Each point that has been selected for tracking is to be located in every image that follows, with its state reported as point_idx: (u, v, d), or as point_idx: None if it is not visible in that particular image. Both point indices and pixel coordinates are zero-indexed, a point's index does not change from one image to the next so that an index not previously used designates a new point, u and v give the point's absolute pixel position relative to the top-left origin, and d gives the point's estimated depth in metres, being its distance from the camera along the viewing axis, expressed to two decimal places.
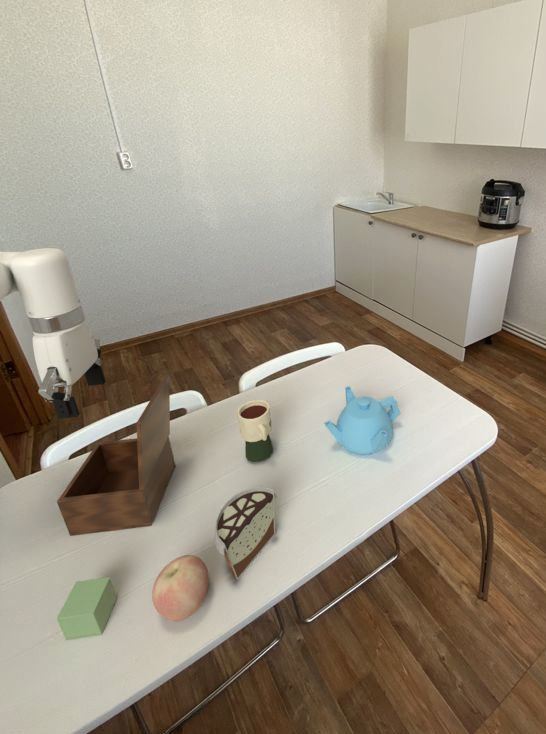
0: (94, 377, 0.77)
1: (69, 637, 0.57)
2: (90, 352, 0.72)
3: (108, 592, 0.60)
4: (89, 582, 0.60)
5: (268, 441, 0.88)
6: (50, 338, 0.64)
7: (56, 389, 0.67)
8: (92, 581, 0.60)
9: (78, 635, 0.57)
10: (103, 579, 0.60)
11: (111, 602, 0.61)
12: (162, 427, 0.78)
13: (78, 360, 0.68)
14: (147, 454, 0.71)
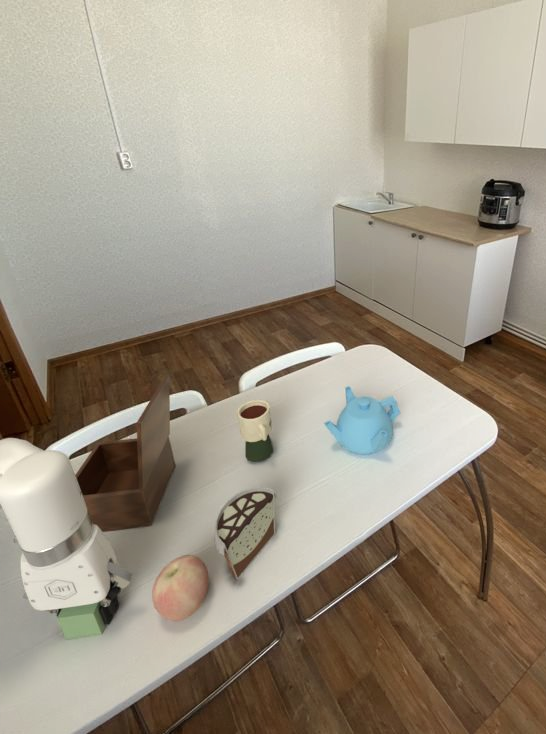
0: None
1: (69, 637, 0.57)
2: None
3: None
4: None
5: (268, 441, 0.88)
6: (96, 534, 0.55)
7: None
8: None
9: (78, 635, 0.57)
10: None
11: None
12: (162, 427, 0.78)
13: None
14: (147, 454, 0.71)
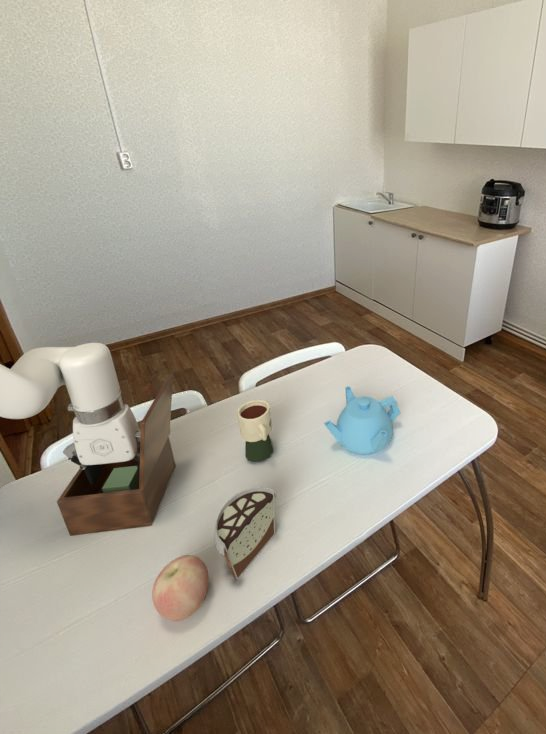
0: (96, 471, 0.77)
1: None
2: None
3: (138, 476, 0.80)
4: (124, 468, 0.80)
5: (268, 441, 0.88)
6: (127, 409, 0.73)
7: None
8: (126, 468, 0.80)
9: None
10: (134, 466, 0.80)
11: None
12: (163, 427, 0.78)
13: None
14: (149, 454, 0.71)
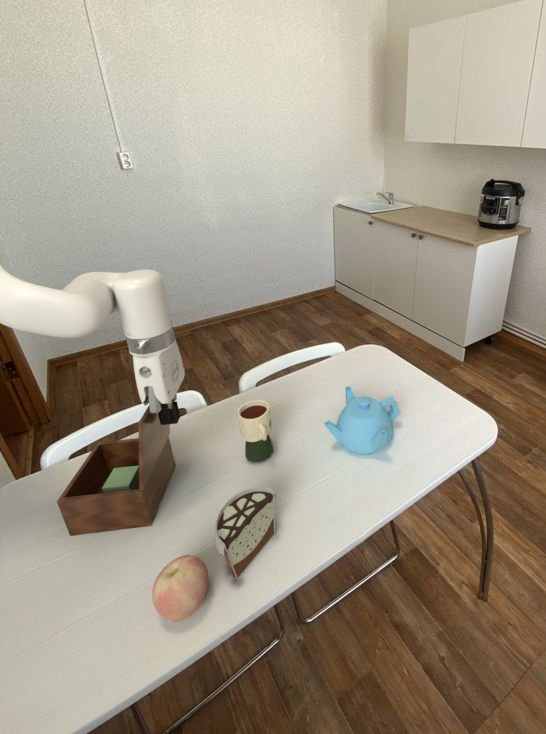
0: None
1: None
2: None
3: (138, 476, 0.80)
4: (124, 468, 0.80)
5: (268, 441, 0.88)
6: None
7: None
8: (126, 468, 0.80)
9: None
10: (134, 466, 0.80)
11: None
12: (163, 427, 0.78)
13: None
14: (148, 454, 0.71)
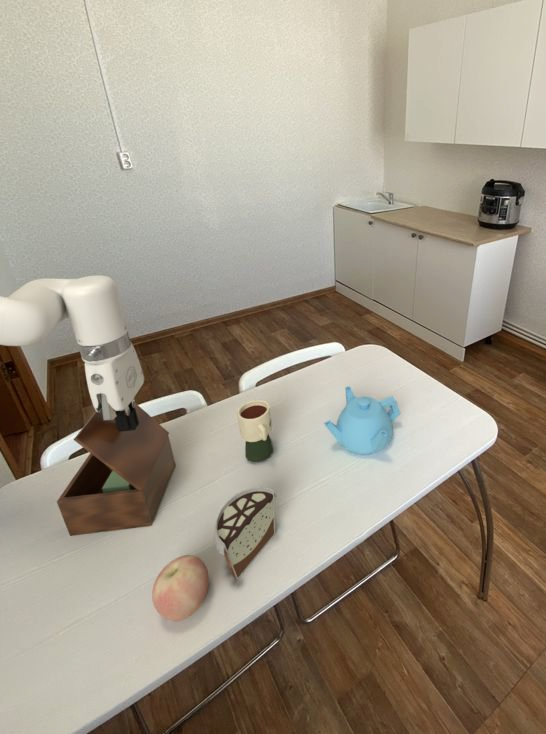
0: None
1: None
2: None
3: None
4: None
5: (268, 441, 0.88)
6: None
7: None
8: None
9: None
10: None
11: None
12: (142, 431, 0.78)
13: None
14: (123, 459, 0.71)
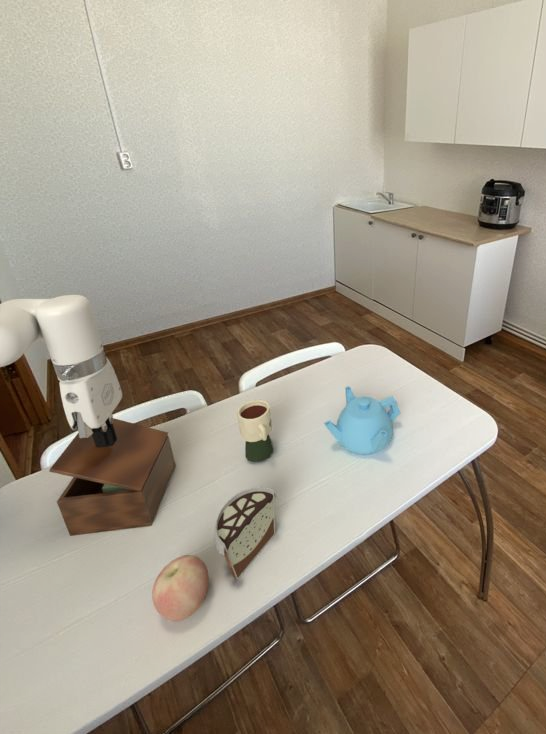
0: None
1: None
2: None
3: None
4: None
5: (268, 441, 0.88)
6: None
7: None
8: None
9: None
10: None
11: None
12: (133, 440, 0.78)
13: None
14: (112, 470, 0.71)
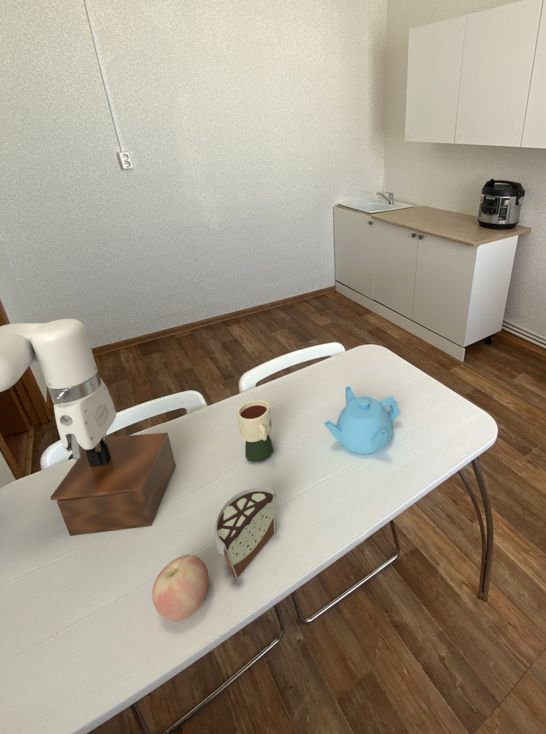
0: None
1: None
2: None
3: None
4: None
5: (268, 441, 0.88)
6: None
7: None
8: None
9: None
10: None
11: None
12: (132, 449, 0.79)
13: None
14: (111, 481, 0.72)
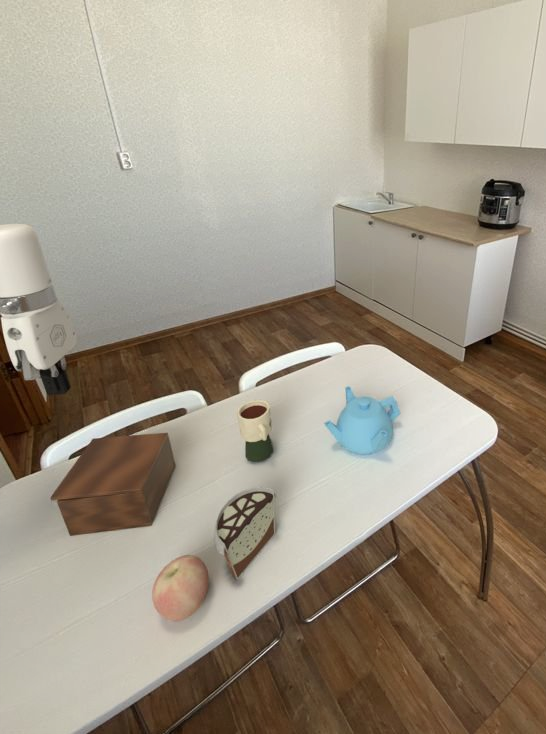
0: None
1: None
2: None
3: None
4: None
5: (268, 441, 0.88)
6: None
7: None
8: None
9: None
10: None
11: None
12: (132, 449, 0.79)
13: None
14: (111, 481, 0.72)
